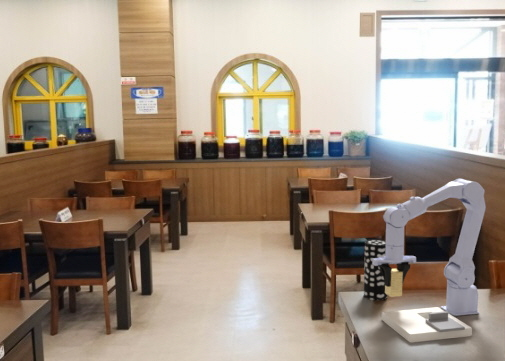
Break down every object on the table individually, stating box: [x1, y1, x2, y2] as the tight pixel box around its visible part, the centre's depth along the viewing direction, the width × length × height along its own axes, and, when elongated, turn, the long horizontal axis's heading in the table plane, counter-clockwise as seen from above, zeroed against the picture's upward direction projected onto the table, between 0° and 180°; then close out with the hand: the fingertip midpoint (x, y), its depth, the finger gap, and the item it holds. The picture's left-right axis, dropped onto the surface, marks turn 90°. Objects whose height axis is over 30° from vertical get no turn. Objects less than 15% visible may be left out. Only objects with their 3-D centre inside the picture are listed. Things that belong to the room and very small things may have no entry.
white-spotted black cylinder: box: [363, 239, 388, 301], centre depth 193 cm, size 8×8×20 cm
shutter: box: [426, 310, 465, 332], centre depth 160 cm, size 8×8×3 cm
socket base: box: [381, 306, 473, 343], centre depth 165 cm, size 20×18×2 cm
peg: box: [385, 268, 403, 298], centre depth 175 cm, size 4×4×8 cm
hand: (393, 285), depth 175 cm, fingers closed on peg, 4 cm apart
